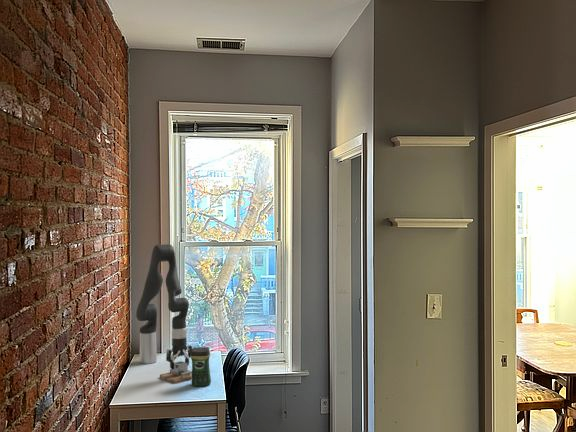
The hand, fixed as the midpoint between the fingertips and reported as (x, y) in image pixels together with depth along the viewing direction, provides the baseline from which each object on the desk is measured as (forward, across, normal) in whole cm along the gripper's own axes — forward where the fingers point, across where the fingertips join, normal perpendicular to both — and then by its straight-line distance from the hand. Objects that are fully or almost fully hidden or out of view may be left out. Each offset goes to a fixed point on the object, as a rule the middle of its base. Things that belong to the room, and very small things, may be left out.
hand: (179, 367), depth 295 cm
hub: (+4, 0, 0) cm, 4 cm away
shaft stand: (+5, 0, 0) cm, 5 cm away
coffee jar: (+5, -1, +18) cm, 19 cm away
